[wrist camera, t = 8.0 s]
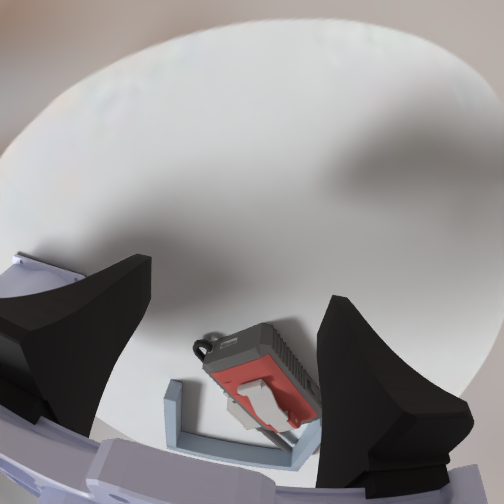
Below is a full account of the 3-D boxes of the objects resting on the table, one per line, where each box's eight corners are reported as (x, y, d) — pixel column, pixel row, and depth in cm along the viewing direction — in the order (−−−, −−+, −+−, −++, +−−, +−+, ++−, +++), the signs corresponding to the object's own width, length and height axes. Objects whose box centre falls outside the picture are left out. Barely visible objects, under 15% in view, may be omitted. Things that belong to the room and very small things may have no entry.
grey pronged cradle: (171, 433, 34) (166, 448, 32) (170, 379, 29) (163, 398, 27) (297, 455, 34) (297, 471, 32) (330, 408, 29) (331, 427, 26)
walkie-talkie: (177, 340, 27) (282, 443, 33) (162, 376, 23) (280, 473, 29) (263, 305, 24) (349, 425, 31) (259, 344, 20) (353, 457, 27)
